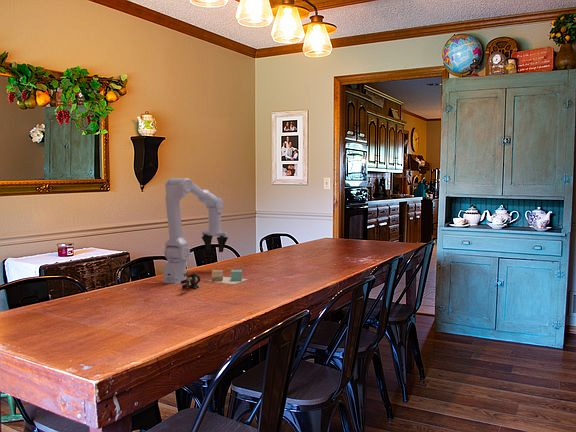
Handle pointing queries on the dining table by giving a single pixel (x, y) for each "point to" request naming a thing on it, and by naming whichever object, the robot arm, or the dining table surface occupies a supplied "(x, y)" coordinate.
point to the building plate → (228, 280)
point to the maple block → (217, 275)
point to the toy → (191, 281)
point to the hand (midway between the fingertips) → (214, 251)
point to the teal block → (236, 275)
